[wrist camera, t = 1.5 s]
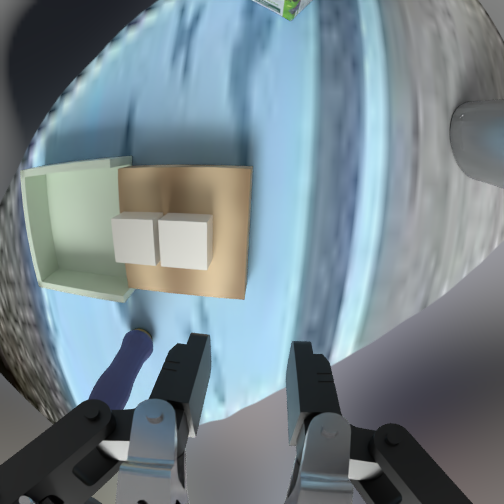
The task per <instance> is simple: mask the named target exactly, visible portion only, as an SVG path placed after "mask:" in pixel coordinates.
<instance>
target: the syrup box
mask: <svg viewBox="0 0 504 504" xmlns="http://www.w3.org/2000/svg"><path fill="white" fill-rule="evenodd" d="M252 1H254V2H256V3H258V4H260V5H262V6H264V7H266V8H268V9H269V10H271V11H273V12H275V13H277V14H279V15H280V16H282V17H284V18H286V19H287V20H289V21H292V20H293V19H294V18H295V17H296V16H297V15H298V14H299V13H300V12H301V11H302V10H303V9H304V8H305V7H306V6H307V5H308V4H309V3H310V2H311V1H312V0H252Z"/></svg>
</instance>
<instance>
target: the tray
mask: <svg viewBox="0 0 504 504" xmlns="http://www.w3.org/2000/svg"><path fill="white" fill-rule="evenodd" d="M128 166H132V156H123V157H109V158H98V159H88V160H79V161H71V162H63V163H56V164H50V165H44V166H39V167H34V168H30V169H26V170H21V171H20V173H21V188H22V199H23V208H24V215H25V222H26V229H27V235H28V240H29V245H30V250H31V255H32V260H33V264H34V268H35V272H36V276H37V280H38V284H39V287H42V288H47V289H52V290H56V291H61V292H66V293H71V294H76V295H81V296H87V297H92V298H98V299H104V300H110V301H116V302H122V303H125V302H126V300H127V299H128V298H129V297H130V295H131V294H132V293H133V292H134V290H135V288H128V281H127V275H126V268H125V263H120V262H116V259H115V252H114V244H113V235H112V225H111V218H113V217H115V216H117V215H118V214H120V209H119V192H118V169H119V168H123V167H128Z"/></svg>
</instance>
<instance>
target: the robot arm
mask: <svg viewBox="0 0 504 504" xmlns="http://www.w3.org/2000/svg"><path fill="white" fill-rule="evenodd" d="M450 139H451V146H452V150H453V153H454V157H455V159H456V161H457V163H458V165H459V166H460V168H461V169H462V171H463V172H464V173H465V174H466V175H467V176H469V177H470V178H472V179H475V180H478V181H481V182H485V183H488V184H491V185H494V186H497V187H500V188H503V189H504V99H501V100H485V101H475V102H466V103H463V104H461V105H460V106H459V107H458V108H457V109H456V111H455V113H454V115H453V118H452V121H451V128H450ZM210 373H211V344H210V335H207V334H198V333H191V334H190V337H189V339H188V342H187V345H186V344H179V343H177V344H176V345H175V346H174V347H173V348H172V349H171V350H170V351H169V353H168V355H167V357H166V359H165V362H164V364H163V366H162V370H161V371H160V374H159V376H158V378H157V381H156V383H155V385H154V388H153V390H152V393H151V395H150V397H149V399H148V400H145V401H143V402H141V403H140V404H139V405H138V406H137V407H136V408H135V409H128V410H111V409H110V407H109V406H108V405H107V404H106V403H105V402H103V401H101V400H98V399H90V400H86V401H84V402H82V403H81V404H79V405H78V406H77V407H75V408H74V409H73V410H72V411H70V412H69V413H68V414H66V415H65V416H64V417H63V418H61V419H60V420H59V421H58V422H56V423H55V424H54V425H52V426H51V427H50V428H49V429H47V430H46V431H45V432H43V433H42V434H41V435H40V436H38V437H37V438H36V439H34V440H33V441H32V442H30V443H29V444H28V445H26V446H25V447H24V448H23V449H21V450H20V451H19V452H17V453H16V454H15V455H13V456H12V457H11V458H10V459H8V460H7V461H6V462H4V463H3V464H2V465H0V504H84V503H85V502H86V501H87V500H88V499H89V498H90V497H91V496H92V495H94V494H95V493H96V492H97V491H98V490H99V489H100V488H101V487H102V486H103V485H104V484H105V483H107V481H109V480H110V479H111V478H112V477H113V476H114V475H115V474H116V473H117V472H118V471H119V474H118V483H117V493H116V494H117V495H116V504H189V498H188V493H187V479H186V449H185V448H186V443H187V439H188V437H193V438H196V434H197V429H198V426H199V421H200V417H201V412H202V408H203V404H204V399H205V395H206V391H207V386H208V382H209V378H210ZM286 389H287V390H286V391H287V409H288V410H287V411H288V434H289V446H296V449H297V455H296V458H295V461H294V465H293V470H292V474H291V478H290V483H289V487H288V491H287V495H286V499H285V502H284V504H352V501H353V485H354V487H355V488H356V490H357V491H358V492H359V494H360V495H361V497H362V498H363V499H364V501H365V502H366V504H473V503H472V502H471V501H470V500H469V499H468V498H467V497H466V496H465V495H464V493H463V492H462V491H461V490H460V489H459V488H458V487H457V486H456V485H455V484H454V482H453V481H452V480H451V479H450V478H449V477H448V476H447V475H446V474H445V472H444V471H443V470H442V469H441V468H440V467H439V466H438V464H436V462H435V461H434V460H433V459H432V458H431V457H430V456H429V454H428V453H427V452H426V451H425V450H424V449H423V448H422V447H421V445H420V444H419V443H418V442H417V441H416V440H415V439H414V438H413V436H412V435H411V434H410V433H409V432H408V431H407V430H406V429H405V428H404V427H402V426H400V425H397V424H391V423H390V424H385V425H383V426H381V427H379V428H378V429H377V430H376V431H374V430H369V429H362V428H358V427H355V426H353V425H351V424H349V422H348V421H347V420H346V419H345V418H344V417H343V416H342V414H341V411H340V407H339V402H338V397H337V393H336V388H335V384H334V379H333V375H332V371H331V366H330V363H329V361H328V360H327V359H326V358H325V357H324V355H323V354H313V350H312V345H311V342H307V341H292V343H291V348H290V354H289V359H288V364H287V371H286ZM349 479H350V481H351V482H350V481H349Z"/></svg>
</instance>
